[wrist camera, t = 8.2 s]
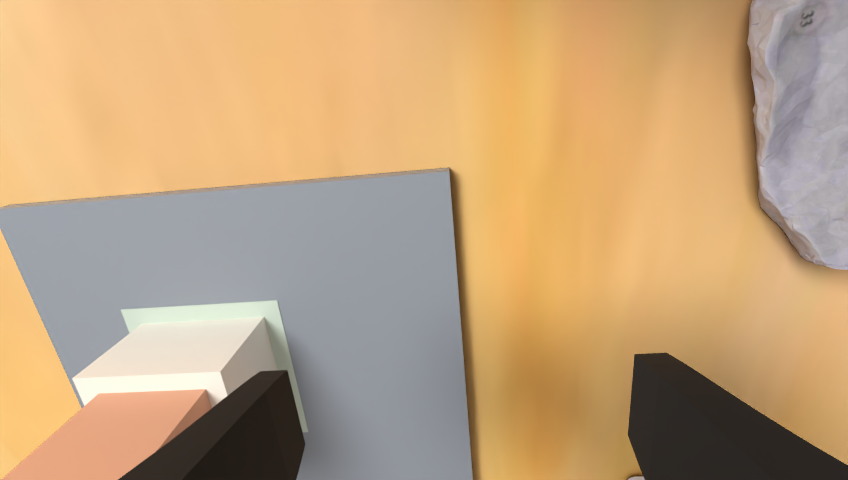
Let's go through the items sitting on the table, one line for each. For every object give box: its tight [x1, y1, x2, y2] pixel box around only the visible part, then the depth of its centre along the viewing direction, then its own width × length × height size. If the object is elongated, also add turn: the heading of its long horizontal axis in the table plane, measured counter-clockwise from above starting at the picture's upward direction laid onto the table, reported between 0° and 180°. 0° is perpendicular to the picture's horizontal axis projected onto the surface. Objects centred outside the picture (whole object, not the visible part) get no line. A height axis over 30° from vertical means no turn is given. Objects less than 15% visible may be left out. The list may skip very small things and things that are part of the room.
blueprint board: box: [0, 168, 473, 480], centre depth 22 cm, size 24×20×1 cm
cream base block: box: [72, 317, 277, 408], centre depth 19 cm, size 6×6×4 cm
